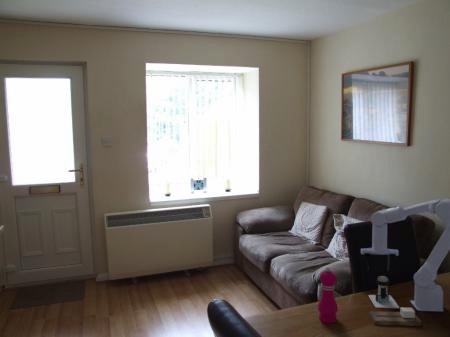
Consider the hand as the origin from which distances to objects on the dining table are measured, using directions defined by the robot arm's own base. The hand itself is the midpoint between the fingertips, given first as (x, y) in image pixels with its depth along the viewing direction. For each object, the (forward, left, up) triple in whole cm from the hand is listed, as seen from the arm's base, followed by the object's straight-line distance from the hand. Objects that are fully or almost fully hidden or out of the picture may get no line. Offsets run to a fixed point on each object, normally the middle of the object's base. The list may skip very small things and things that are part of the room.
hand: (379, 271), depth 159 cm
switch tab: (-4, +22, -9) cm, 23 cm away
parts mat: (0, +6, -10) cm, 12 cm away
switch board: (0, +22, -10) cm, 24 cm away
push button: (0, +7, -10) cm, 12 cm away
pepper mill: (+24, +22, -11) cm, 35 cm away
